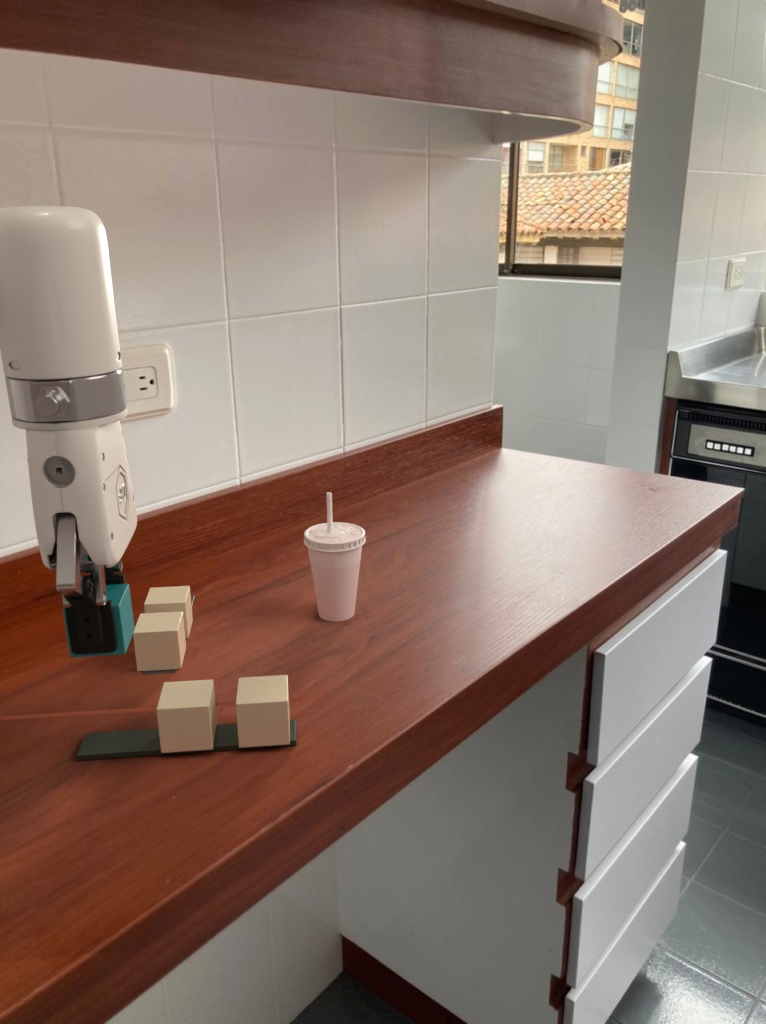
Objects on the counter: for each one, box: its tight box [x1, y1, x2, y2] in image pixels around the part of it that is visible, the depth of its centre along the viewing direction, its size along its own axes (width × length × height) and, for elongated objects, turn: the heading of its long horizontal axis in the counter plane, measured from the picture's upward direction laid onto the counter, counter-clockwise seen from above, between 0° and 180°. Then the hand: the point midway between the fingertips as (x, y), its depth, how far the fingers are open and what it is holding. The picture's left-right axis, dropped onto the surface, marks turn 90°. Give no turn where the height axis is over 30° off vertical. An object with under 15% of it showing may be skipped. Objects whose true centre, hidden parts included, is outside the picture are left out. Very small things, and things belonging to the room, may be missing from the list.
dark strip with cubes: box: [76, 674, 297, 762], centre depth 65 cm, size 17×4×4 cm, turn 96°
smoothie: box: [303, 491, 367, 622], centre depth 85 cm, size 6×6×14 cm
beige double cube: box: [132, 585, 195, 675], centre depth 82 cm, size 4×17×4 cm, turn 6°
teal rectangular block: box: [62, 583, 135, 659], centre depth 61 cm, size 4×4×4 cm
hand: (102, 634), depth 62 cm, fingers closed on teal rectangular block, 4 cm apart
